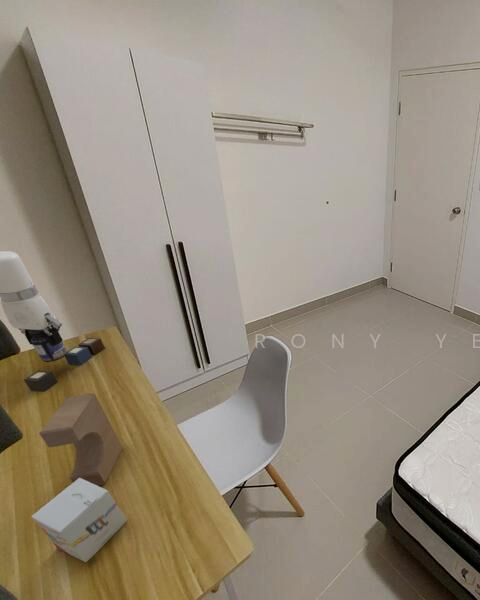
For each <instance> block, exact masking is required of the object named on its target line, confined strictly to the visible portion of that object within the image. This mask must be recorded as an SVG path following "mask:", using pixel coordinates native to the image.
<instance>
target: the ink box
mask: <svg viewBox="0 0 480 600" xmlns="http://www.w3.org/2000/svg"><path fill="white" fill-rule="evenodd" d="M31 519H32V520H33V521H34V522H35V523H36V524H37V526H38V527H39V528H40V529H41V531H42V532H43V533H44V534H45V535H46V536H47V537H48V539H49V540H50V541H51V542H52V544H53V545H54V547H55V548H56V549H58V550H59V551H62V552H64V553H66V554H68V555H70V556H71V557H73V558H76V559H78V560H80V561H83V562H84V563H88V562H89V561H90V560H91V559H92V557H94V556H95V554H96V553H98V552H99V550H101V548H103V547H104V545H105V544H106V543H107V542H109V540H110V539H111V538H112V537H113V536H114V535H115V534H116V533H117V532H118V531H119V530H120V529H121V528H122V527H123V526H124V525H125V524H126V523H127V521H128V519H127V518H126V516H125V515H124V513H123V512H122V510H121V509H120V507H119V506H118V504H117V503H116V501H115V500H114V498H113V496H112V495H111V493H110V492H109V490H108V489H106V488H103V487H101V486H97V485H95V484H92V483H90V482H88V481H86V480H84V479H81V478H78V479H77V480H76V481H75V482H74V483H73V482H72V483H71V484H70V485H68V486H67V487H65V488H64V489H63V490H62V491H61V492H59V493H58V494H57V495H56V496H54V497H53V498H52V499H51V500H50V501H48V502H47V503H46V504H44V505H43V506H42V507H41V508H39V509H38V510H37V511H36V512H35V513H33V514H32V515H31Z"/></svg>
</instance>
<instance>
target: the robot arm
mask: <svg viewBox="0 0 480 600" xmlns="http://www.w3.org/2000/svg"><path fill="white" fill-rule="evenodd" d="M0 304H1V306H2V309H3V312H4V314H5V316H6V318H7V320H8V322H9V324H10V325H11V327H12V328H14V329H17V330H19V331H20V333H21V334H22V335H24V336H25V338H26V340H27V342H28V343H29V344H30V345H32V343H31V338H32V336H31V335H30V333H29V331H30V330H43V331H44V332H45V333H46V334H47V336H46V337H47V338H48V340H49V342H50V344H51V345H52V346H55V345H57V344H58V343H60V342H62V343H63V340H64V339H63V338H62V336H61V334H60V329H61V328H62V326H63V323H62V322H61V321H60V320H58V319H57V318H56V316H55V314H54V313H53V310H52V309H51V307H50V306H49V304H48V303H47V302H46V299H44V298H43V296H41V294H40V292H39V290H38V288H37V286H36V285H35V283H34V281H33V279H32V277H31V275H30V273H29V271H28V269H27V268H26V265H25V263H24V262H23V260H22V258H21V257H20V255H19V254H18V253H17V252H14V251H7V250H5V251H0ZM49 326H50V328H51V329H50V330H49V329H48V328H47V327H49Z"/></svg>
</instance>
